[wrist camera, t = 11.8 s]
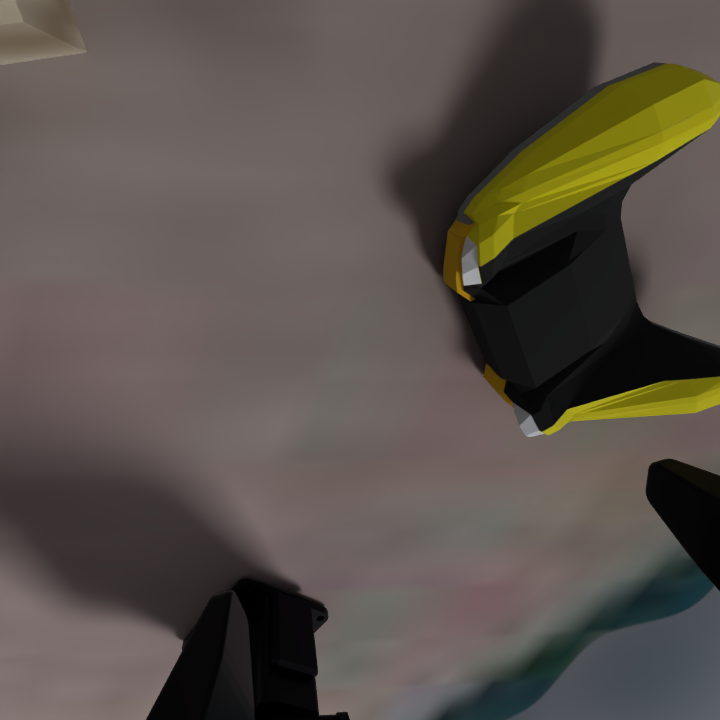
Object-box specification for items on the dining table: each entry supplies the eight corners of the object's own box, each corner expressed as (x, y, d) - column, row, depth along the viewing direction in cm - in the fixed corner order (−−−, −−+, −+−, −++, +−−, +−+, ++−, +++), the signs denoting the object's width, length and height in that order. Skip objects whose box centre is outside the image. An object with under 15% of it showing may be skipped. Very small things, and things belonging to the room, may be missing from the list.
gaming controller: (618, 57, 18) (397, 182, 19) (748, 27, 13) (444, 197, 14) (666, 349, 25) (504, 435, 26) (762, 400, 20) (561, 504, 21)
